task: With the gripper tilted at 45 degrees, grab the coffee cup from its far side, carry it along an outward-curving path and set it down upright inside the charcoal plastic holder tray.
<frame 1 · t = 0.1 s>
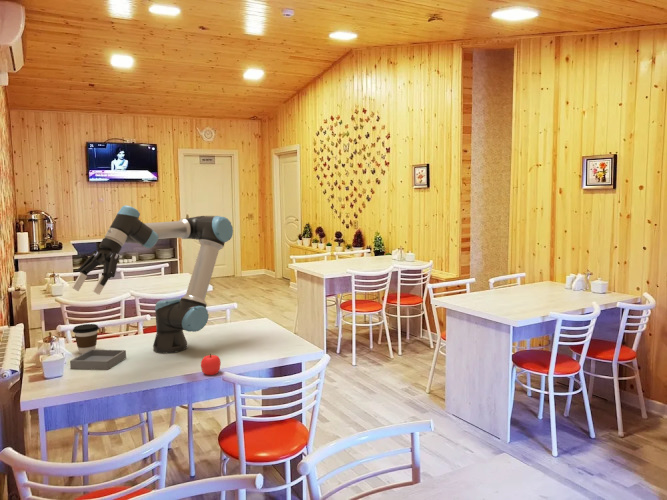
hand: (85, 291, 201), 36 cm above the table, tool tilted 35°, fingers open, 13 cm apart
coffee cup: (87, 352, 247), on the table
holder tray: (99, 363, 231), on the table
apple: (211, 373, 217), on the table
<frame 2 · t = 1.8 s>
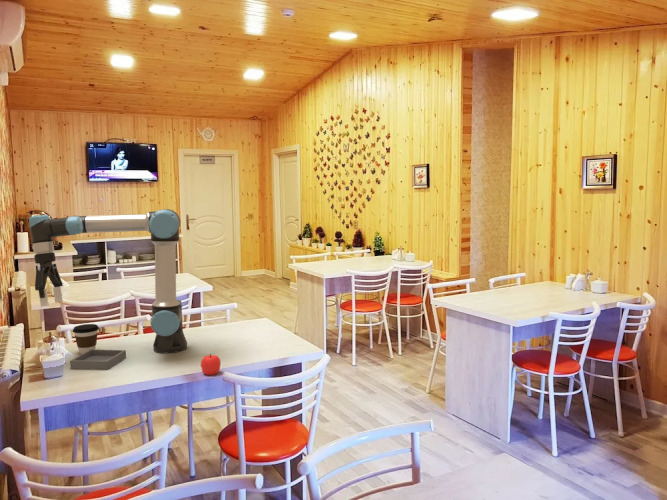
hand: (52, 304, 224), 27 cm above the table, tool pointing down, fingers open, 13 cm apart
nothing on the table moved.
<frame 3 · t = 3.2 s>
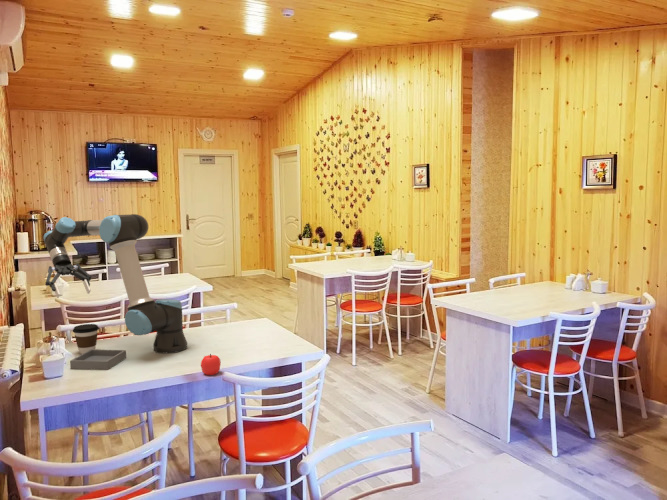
hand: (74, 294, 251), 26 cm above the table, tool tilted 45°, fingers open, 13 cm apart
nothing on the table moved.
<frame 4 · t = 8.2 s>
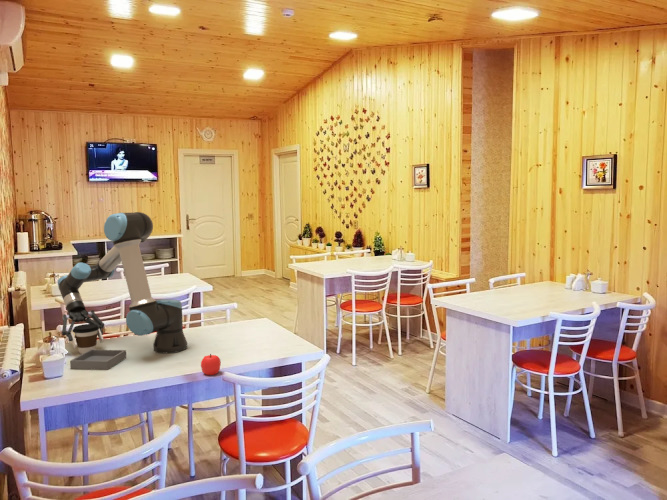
hand: (89, 343, 245), 5 cm above the table, tool tilted 45°, fingers closed on coffee cup, 11 cm apart
coffee cup: (87, 352, 247), on the table, touching gripper
everything else where it was.
when the fingers open (7 cm above the table, at t = 16.2 s): coffee cup drops 1 cm, resting on holder tray.
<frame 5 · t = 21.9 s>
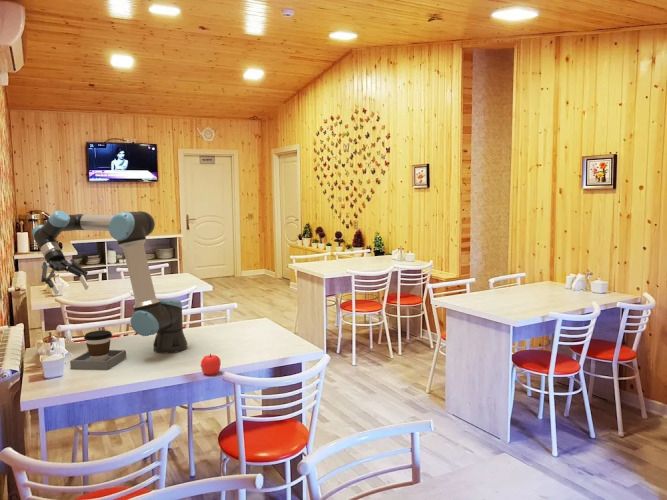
hand: (72, 290, 239), 30 cm above the table, tool tilted 45°, fingers open, 13 cm apart
coffee cup: (99, 361, 231), point 1 cm above the table, touching holder tray
everything else where it was.
at the end: coffee cup 0.3 cm off-centre on the holder tray, point 0.8 cm above the holder tray's base; coffee cup tilted 0°; the gripper is holding nothing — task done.
